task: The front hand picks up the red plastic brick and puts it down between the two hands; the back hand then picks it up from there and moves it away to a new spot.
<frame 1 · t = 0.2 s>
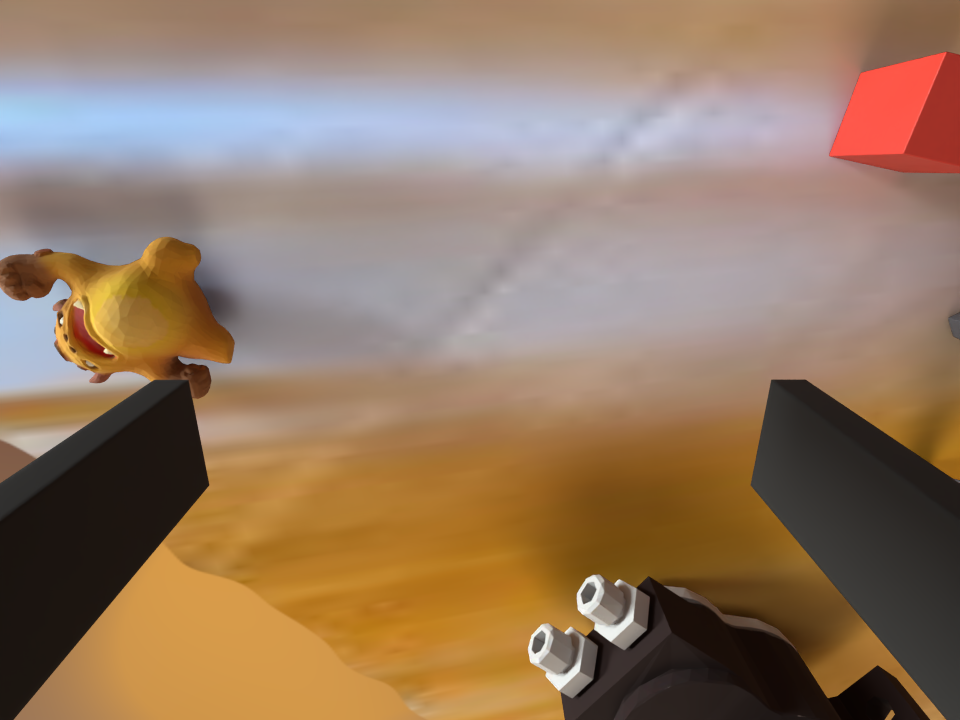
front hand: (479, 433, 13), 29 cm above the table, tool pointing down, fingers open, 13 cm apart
brick: (882, 123, 37), on the table
toy: (146, 304, 41), on the table
mechanical component: (674, 639, 52), on the table
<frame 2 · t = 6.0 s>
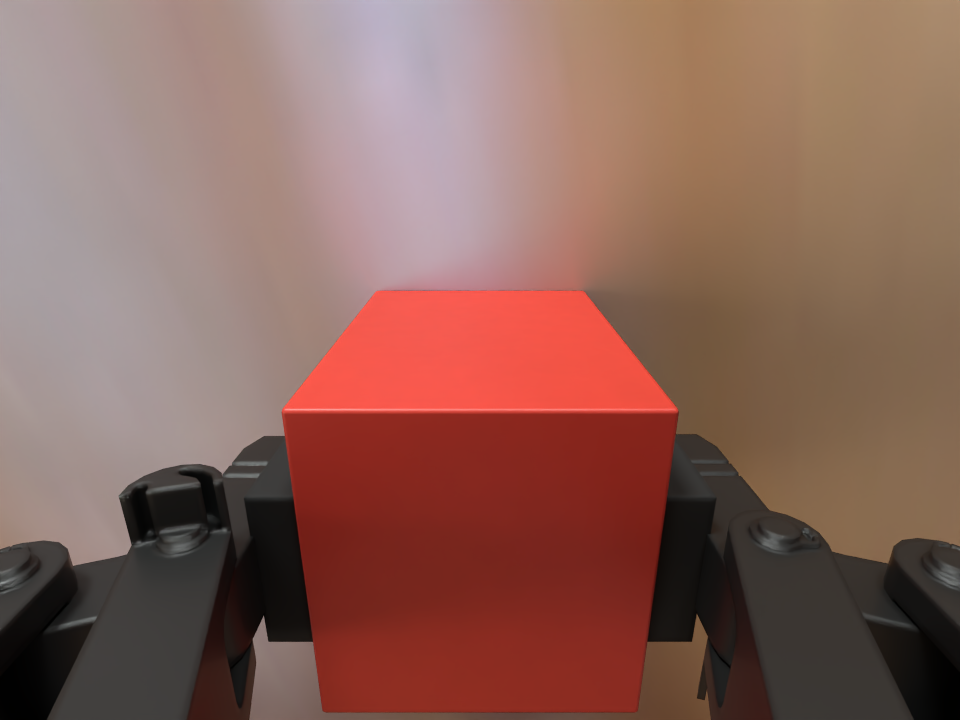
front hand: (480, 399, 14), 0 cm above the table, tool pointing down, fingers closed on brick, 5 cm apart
brick: (480, 391, 15), on the table, touching front hand
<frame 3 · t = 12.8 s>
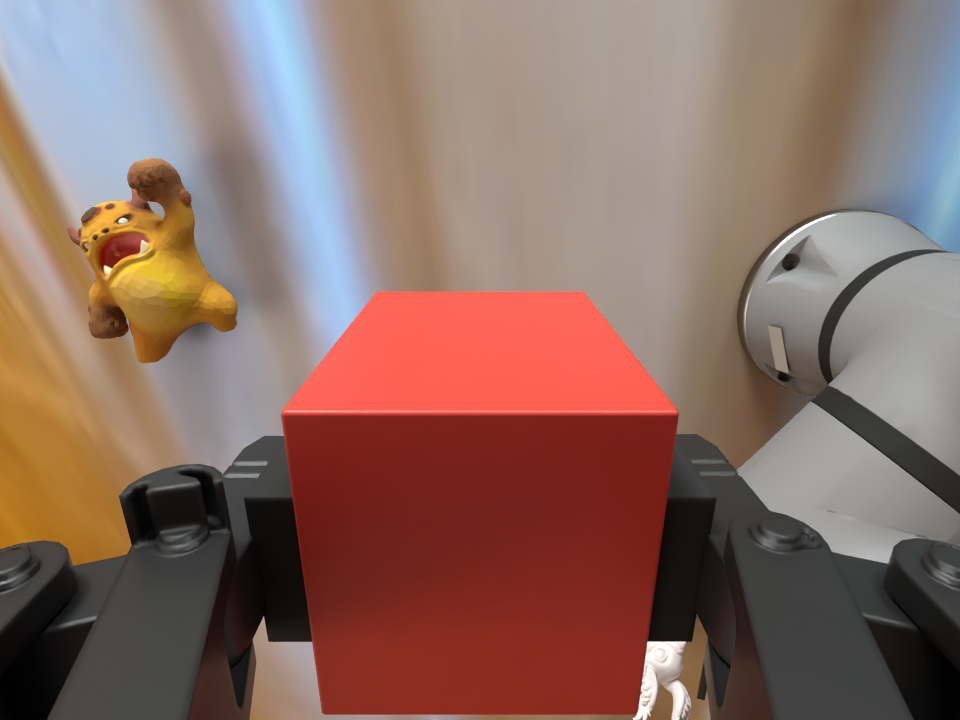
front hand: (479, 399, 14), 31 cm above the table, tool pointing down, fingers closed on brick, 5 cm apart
figurine: (615, 624, 58), on the table
brick: (480, 392, 15), point 31 cm above the table, touching front hand
toy: (171, 259, 44), on the table
when the front hand's fingers open (2 cm above the table, at t = 19.9 s): brick drops 1 cm, on the table.
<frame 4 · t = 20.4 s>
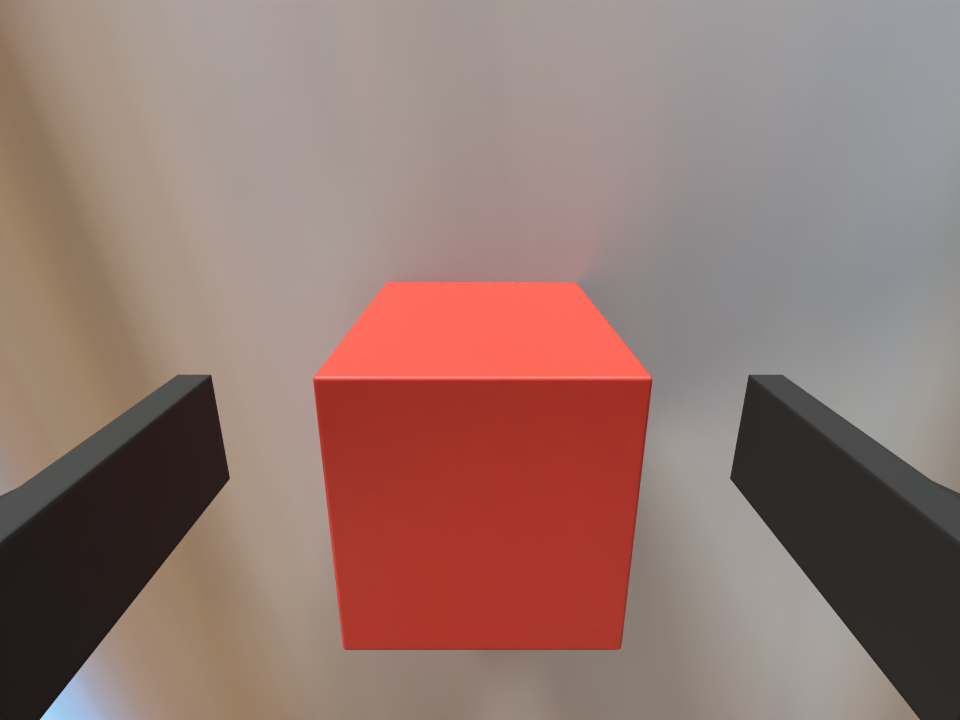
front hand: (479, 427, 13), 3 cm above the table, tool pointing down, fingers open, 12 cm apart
brick: (481, 376, 16), on the table
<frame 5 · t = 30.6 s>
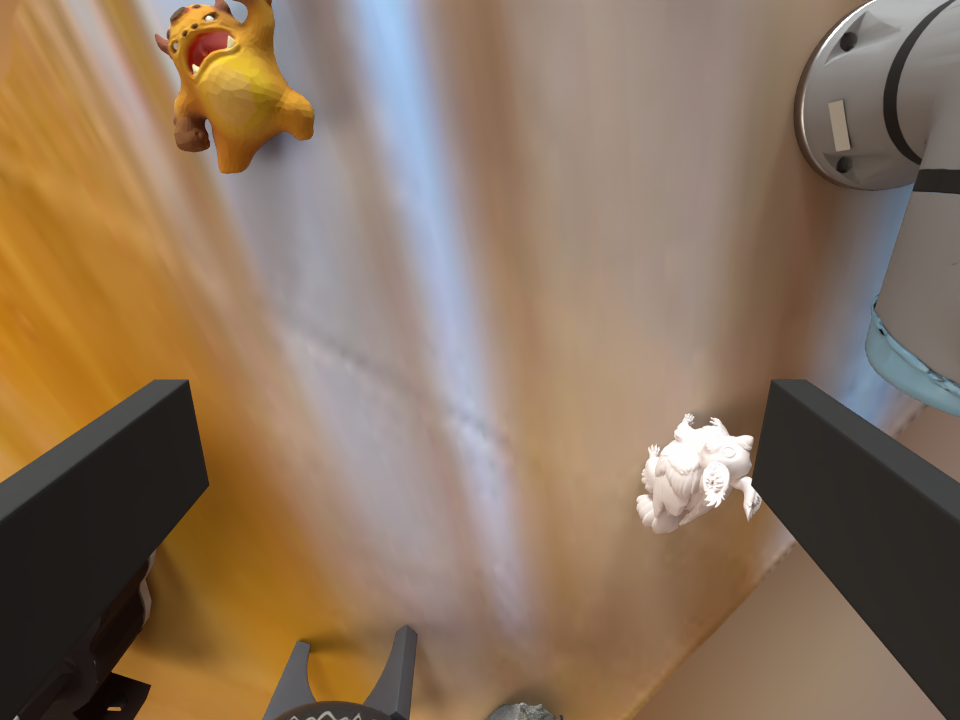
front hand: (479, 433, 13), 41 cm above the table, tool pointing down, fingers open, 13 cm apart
figurine: (675, 457, 59), on the table
planter: (362, 661, 69), on the table
toy: (248, 76, 46), on the table
mechanical component: (104, 553, 63), on the table
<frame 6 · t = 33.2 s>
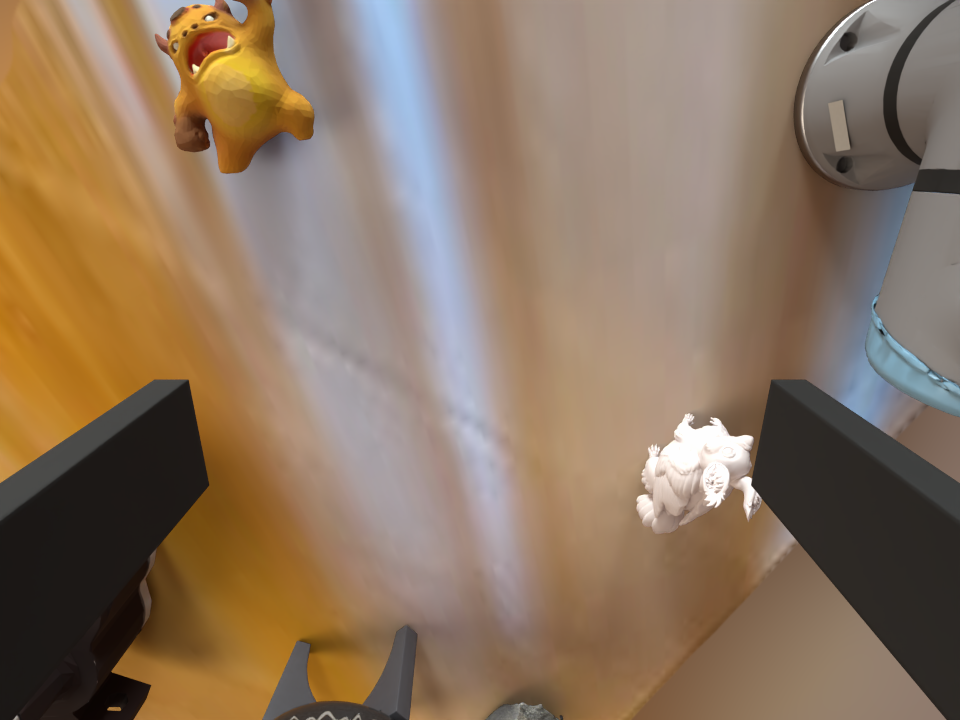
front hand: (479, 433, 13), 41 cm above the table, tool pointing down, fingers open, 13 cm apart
figurine: (675, 457, 59), on the table
planter: (362, 661, 69), on the table
toy: (248, 76, 46), on the table
mechanical component: (104, 553, 63), on the table
when the back hand's fingers open (2 cm above the table, at t = 35.9 s): brick drops 1 cm, on the table.
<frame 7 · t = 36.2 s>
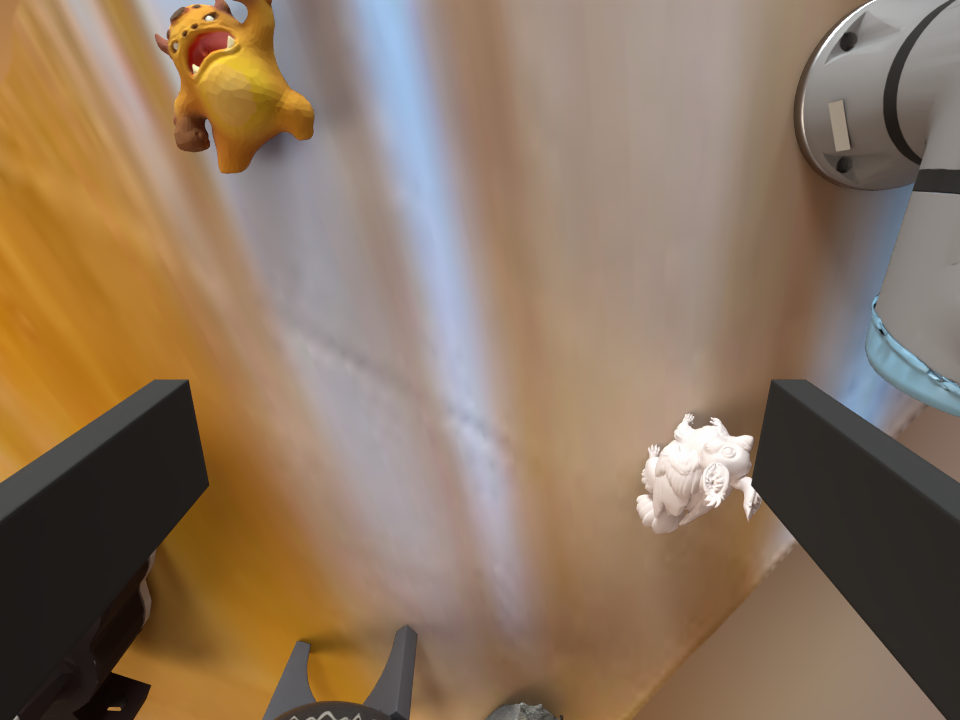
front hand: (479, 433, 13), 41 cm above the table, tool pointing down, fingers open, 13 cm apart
figurine: (675, 457, 59), on the table
planter: (362, 661, 69), on the table
toy: (248, 76, 46), on the table
mechanical component: (104, 553, 63), on the table
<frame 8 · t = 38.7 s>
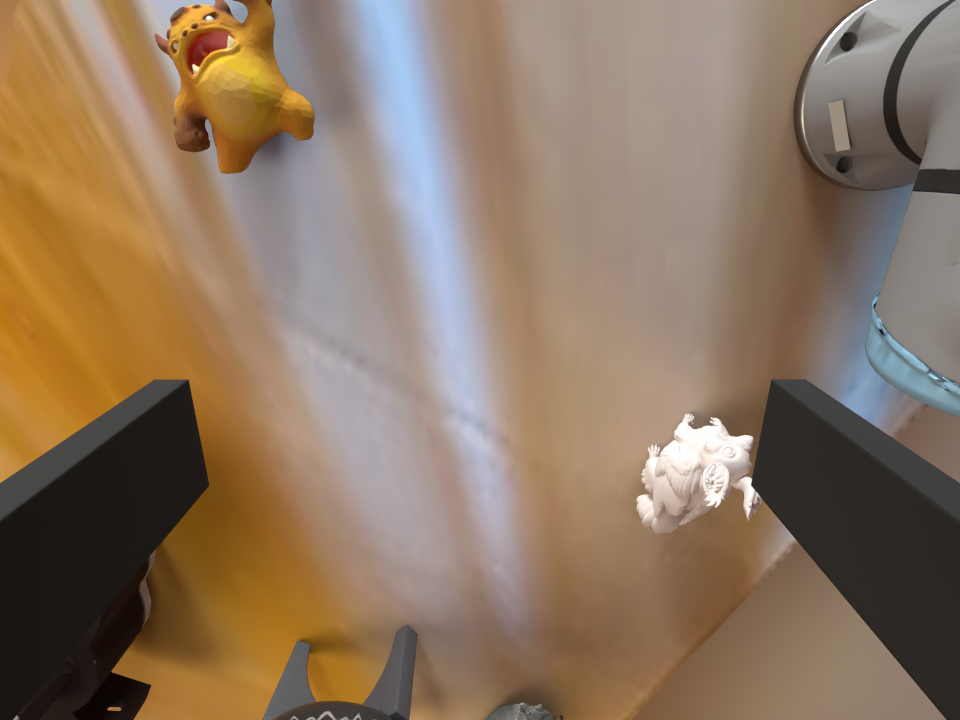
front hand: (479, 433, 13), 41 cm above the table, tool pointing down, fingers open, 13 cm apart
figurine: (675, 457, 59), on the table
planter: (362, 661, 69), on the table
toy: (248, 76, 46), on the table
mechanical component: (104, 553, 63), on the table
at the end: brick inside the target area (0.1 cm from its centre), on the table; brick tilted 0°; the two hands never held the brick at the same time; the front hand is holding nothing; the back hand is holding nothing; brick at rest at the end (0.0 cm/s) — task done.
